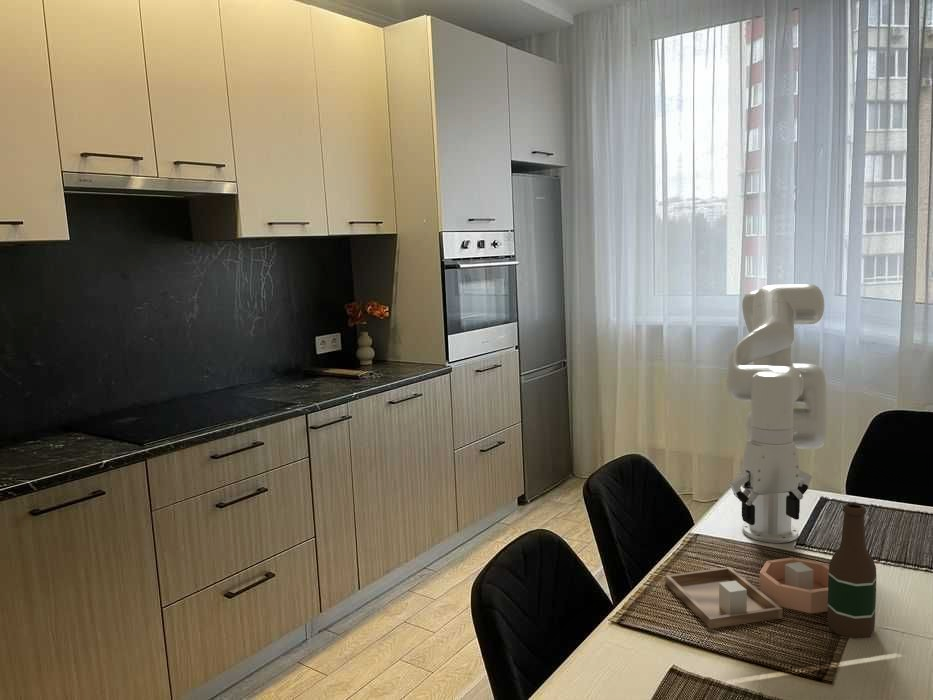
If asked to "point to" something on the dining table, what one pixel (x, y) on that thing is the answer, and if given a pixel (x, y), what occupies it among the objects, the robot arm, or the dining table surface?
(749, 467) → the robot arm
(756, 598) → the walnut tray
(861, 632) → the beer bottle
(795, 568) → the off-white matte cube
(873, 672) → the dining table surface
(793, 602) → the bowl
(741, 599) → the white sharp-edged block
